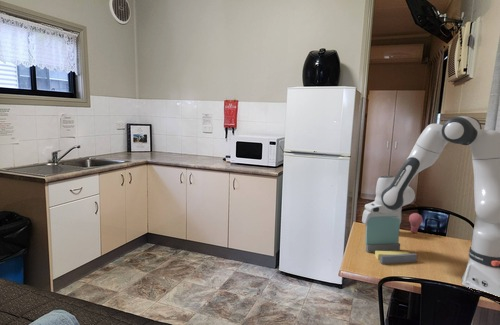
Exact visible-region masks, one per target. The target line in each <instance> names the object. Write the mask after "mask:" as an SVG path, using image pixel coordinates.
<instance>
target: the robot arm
mask: <svg viewBox="0 0 500 325" xmlns="http://www.w3.org/2000/svg"><path fill="white" fill-rule="evenodd" d="M448 143H451V144H454V145H461V146H469V148H470V151H471V159H472V160H471V162H472V169H473V189H474V191H473V193H474V195H473V196H474V210H475V215H476V216H475V222H474V225H473V226H474V227H473V230H472V231H473V232H472V237H471V244H470V245H471V246H470V247H469V250H468V261H467V264H466V268H465V271H464V273H463V274H462V277H461V280H462V283H461V285H463V286H464V287H466V288H468V287H469V288H468V289H470V288H473V289H476V290H480V291H484V292H487V293H490V294H493V295H495V296H498V297H500V132H499V131H497V130H494V129H483V128H482V124H481V122H480V121H479V120H478V119H476V118H475V117H472V116H465V115H461V116H455V117H452V118H449V119H447V120H446V121H445V122H444V123H443V124H440V123H430V124H428V125H427V126H426V127H425V128H424V129H423V131H422V132H421V133H420V134H419V136H418V138H417V140H416V142H415V144H414V146H412V147H413V148H412V149H411V151H410V153H409V155H408V157H407V158H406V160H405V162H404V163H403V164H402V166H401V168H400V170H399V171H398V173H397V175H396V176H394V175H382V176H379V177H378V179H377V181H376V186H375V198H374V201H371V202H369V203H366V204H364V210H363V212H362V218H361V222H362V224H363V225H365V226H366V225H367V221H368V220H369V218H370V217H389V216H397V217H391V218H398V219H400V224H401V223H402V211H401V210H403V208H402V209H401V208H400V207H404V206H407V205H409V204H411V203H413V202H414V201H415V199H416V191H415V190H414V188H412V187H411V186H409V185H410V184H411V182H412V180H413V179H414V178H415V176H416V175H417V174H419V173H420V172H422V171H423V170H426V169H427V168H429V167H431V166H433V165H434V164H435V163H436V162H437V160H438V159H439V157H440V156H441V154H442V152H443V151H444V148H445V147H446V146H447V144H448Z"/></svg>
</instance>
